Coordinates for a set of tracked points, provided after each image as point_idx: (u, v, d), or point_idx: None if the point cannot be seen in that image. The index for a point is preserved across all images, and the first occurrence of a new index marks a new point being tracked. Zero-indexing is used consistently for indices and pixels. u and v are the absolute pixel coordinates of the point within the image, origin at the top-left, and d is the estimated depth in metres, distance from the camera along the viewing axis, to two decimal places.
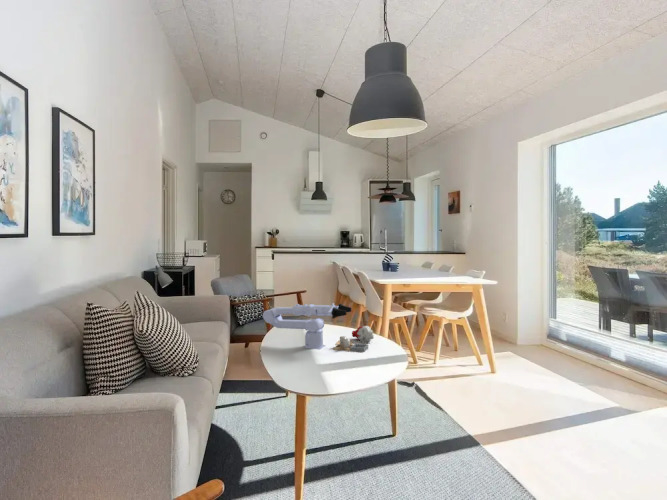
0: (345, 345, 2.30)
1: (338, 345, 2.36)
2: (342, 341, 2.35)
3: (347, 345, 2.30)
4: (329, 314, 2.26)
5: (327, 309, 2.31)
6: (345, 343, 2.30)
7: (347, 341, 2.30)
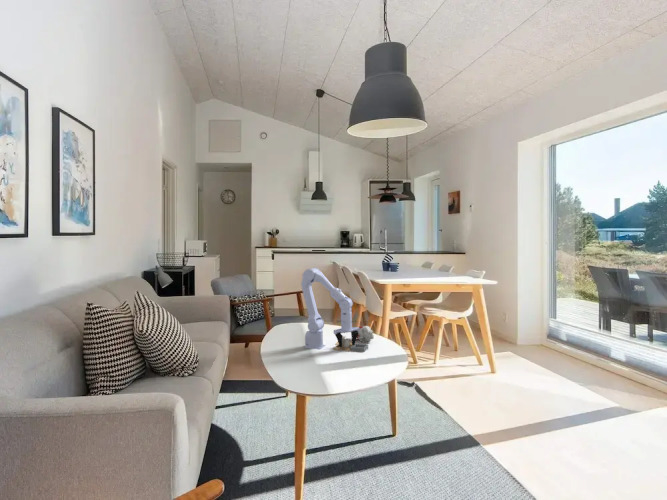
0: (345, 345, 2.30)
1: (338, 345, 2.36)
2: (342, 341, 2.35)
3: (347, 345, 2.30)
4: (334, 332, 2.29)
5: (343, 326, 2.29)
6: (345, 343, 2.30)
7: (347, 341, 2.30)
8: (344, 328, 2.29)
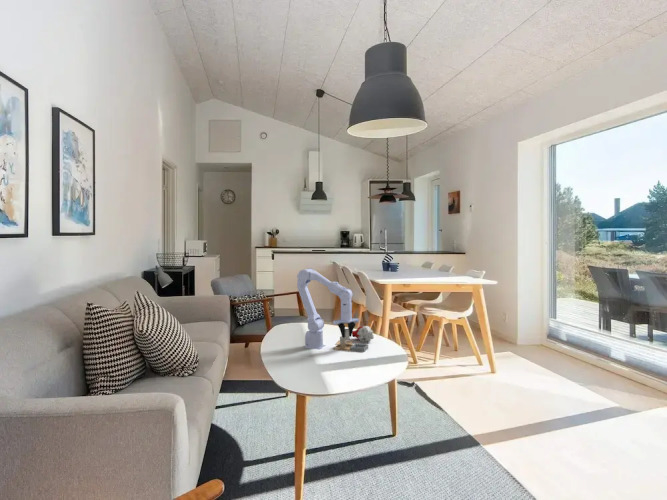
0: None
1: (338, 345, 2.36)
2: (342, 341, 2.35)
3: (346, 335, 2.30)
4: (333, 322, 2.28)
5: (342, 316, 2.29)
6: None
7: (346, 331, 2.30)
8: (344, 319, 2.28)
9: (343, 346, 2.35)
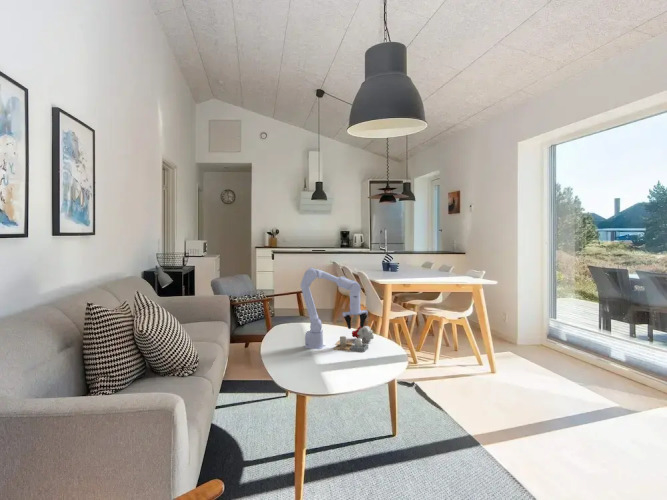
0: (358, 345, 2.29)
1: (338, 345, 2.36)
2: (342, 341, 2.35)
3: (360, 345, 2.29)
4: (343, 314, 2.35)
5: (352, 308, 2.35)
6: (357, 343, 2.29)
7: (359, 341, 2.29)
8: (353, 310, 2.35)
9: (343, 346, 2.35)
